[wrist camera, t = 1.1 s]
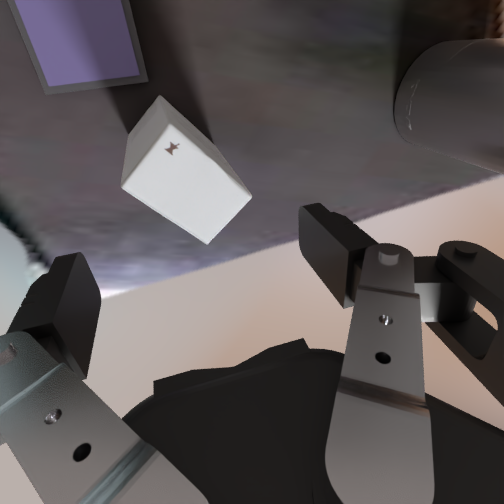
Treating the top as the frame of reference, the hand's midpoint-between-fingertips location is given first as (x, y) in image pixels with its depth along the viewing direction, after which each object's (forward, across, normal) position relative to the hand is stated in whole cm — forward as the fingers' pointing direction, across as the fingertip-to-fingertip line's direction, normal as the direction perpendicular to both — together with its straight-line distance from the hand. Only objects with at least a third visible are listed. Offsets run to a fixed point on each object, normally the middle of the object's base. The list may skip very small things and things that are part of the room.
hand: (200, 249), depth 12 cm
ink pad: (+18, +4, -8) cm, 20 cm away
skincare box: (+18, 0, 0) cm, 18 cm away
